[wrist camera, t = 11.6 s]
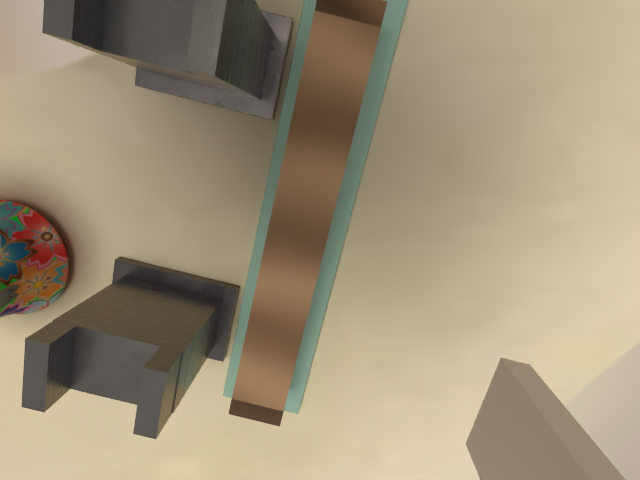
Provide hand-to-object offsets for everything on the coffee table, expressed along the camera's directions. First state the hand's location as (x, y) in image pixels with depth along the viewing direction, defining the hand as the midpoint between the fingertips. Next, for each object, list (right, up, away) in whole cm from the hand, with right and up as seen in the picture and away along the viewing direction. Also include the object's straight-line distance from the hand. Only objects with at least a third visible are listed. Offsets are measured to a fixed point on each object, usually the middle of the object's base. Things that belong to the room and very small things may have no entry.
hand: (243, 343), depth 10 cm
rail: (+1, +4, +17) cm, 17 cm away
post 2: (-9, -2, +19) cm, 21 cm away
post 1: (-5, +14, +15) cm, 21 cm away
